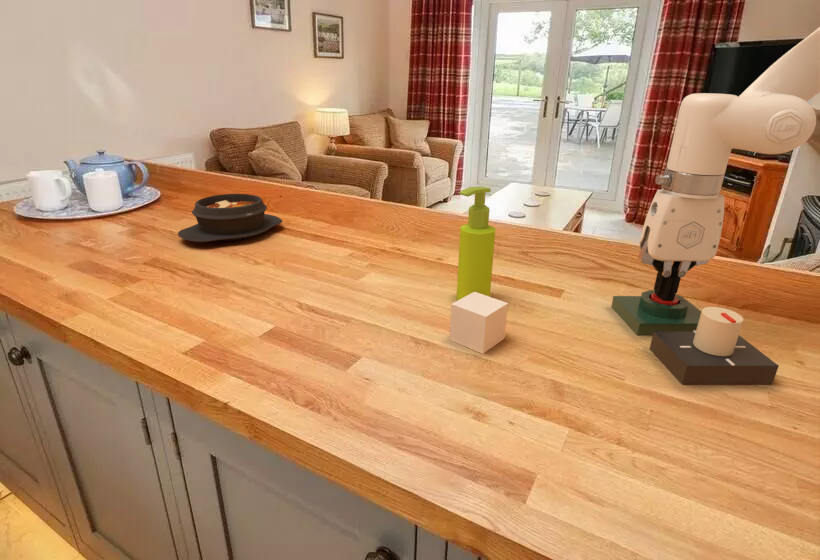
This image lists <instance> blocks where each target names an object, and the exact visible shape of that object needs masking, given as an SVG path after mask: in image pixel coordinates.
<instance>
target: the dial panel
mask: <svg viewBox="0 0 820 560" xmlns="http://www.w3.org/2000/svg"><path fill="white" fill-rule="evenodd" d="M695 333H696V331H693V332H653V336H652V337H651V341H650V345H649V350H650V352H651V353H652V354H653V355H654V356H655V357H656V358H657V360H658V361H660V363H661V364H662V365H663V366H664V367H665V368H666V369H667V370H668V371H669V373H670V374H671V375H672V376H673V377H674V378H675V379H676V380H677V382H678V383H679V384H680V385H682V386H770V385H771V386H772V385H773V383H774V380H775V377H776V376H777V372H778V369H779V364H777V363H776V362H775V361H774V360H773V359H771V358H770V357H768V356H767V355H766V354H764V353H763V352H762V351H760V350H759V349H758V348H756V347H755V346H754V345H753V344H752V343H750V342H748V341H747V340H746V338H743V337H742V336H741V335H740V334H739V336H738V339H737V342H736V345H735V348H734V352H733V354H732V355H730V356H715V355H711V354H708V353H705V352H703V351H701V350H699V349H697V348H696V347H695V346H694V344H693V340H694V337H695Z"/></svg>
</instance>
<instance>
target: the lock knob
mask: <svg viewBox="0 0 820 560" xmlns="http://www.w3.org/2000/svg"><path fill="white" fill-rule="evenodd" d="M700 311H701V315H700V318H699V322H698V326H697V329H696V333H695V337H694V340H693V344H694V346H695V347H696V348H697V349H699V350H701V351H703V352H705V353H708V354H711V355H715V356H730V355H732V354H733V352H734V348H735V345H736V342H737V339H738V336H739V335H740V333H741V329H742V326H743V322H744V317H743V316H742V314H739V313H738V312H736V311H734V310H731V309H728V308H724V307H718V306H706V307H703V308H702V309H701V310H700Z"/></svg>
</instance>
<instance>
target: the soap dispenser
mask: <svg viewBox="0 0 820 560" xmlns="http://www.w3.org/2000/svg"><path fill="white" fill-rule="evenodd" d="M491 191H492V189H491V188H490V187H487V186H470V187H466V188H464V189H462V190H460V191H459V192H458V194H459V195H461V196H465V197H467V198H468V197H471V196H472V195H474V204H472V205H470V206H469V207H468V218H467V223H466V224H462V225H461V226H460V228H459V242H458V243H459V244H458V264H457V280H456V301H458V300H460V299H462V298H464V297H466V296H467V295H469V294H471V293H473V292H477V293H480V294H483V295H486V296H489V297H491V288H492V275H493V265H494V252H495V239H496V228H495V226H492V225H489V222H490V221H489V220H490V207H489V206H487V204H486V193H491Z"/></svg>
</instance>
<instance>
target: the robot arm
mask: <svg viewBox="0 0 820 560" xmlns="http://www.w3.org/2000/svg"><path fill="white" fill-rule="evenodd" d="M819 93H820V26H818V28H816V29H815V30H814V31H813V32H811V33H810V34H809V35H808V36H806V37H805V38H804V39H802V40H801V41H800V42H798V43H797V44H796V45H795V46H793V47H792V48H791V49H789V50H787V52H785V53H784V54H783V55H781V57H779V58H778V59H777V60H776V61H774V62H773V63H772V64H771V65H770V66H768V68H767V69H766V70H764V72H762V73H761V74H760V75H759V76H758V77H757V78H756V79H755V80H754V81H753V82H752V83H751V84H750V85H749V86H748V87H747V88H745V90H744V91H743V92H741V94H739V95H736V94H729V93H715V92H714V93H712V92H709V93H708V92H707V93H706V92H703V93H702V92H697V93H696V92H695V93H690V94H688V95H686V96H685V97H683V99H682V101H681V103H680V105H679V106H680V107H679V109H678V115H677V119H676V123H675V127H674V133H673V136H672V140H671V145H670V151H669V154H668V159H667V164H666V167H665V169H664V171H663V172H664V173H663V174H657V175H656V176H655V180H654V182H655V184H656V185H661V186H660V187H661V189H657V191H656V192H655V194H654V197H653V198H652V201H651V203H650V206H649V208H648V211H647V213H646V217H645V220H644V223H643V227H642V231H641V235H640V240H639V248H640V251H639V254H638V255H637V260H638V261H639V262H640V263H642V264H645V265H649V266H652V267H653V268H654V270H655V272H656V277H655V280H654V281H655V282H654V286H653V290H654V291H655V294H656V295H657V296H658V297H659V298H661V299H662V300H664V301H667V300H670V301H673V300H674V298H675V294H677V293H678V290H679V287H680V283H681V279H683V278H684V277H685V276H686V275H687V272H689V271H690V270H691V269H693V268H694V267H695V266H697V267H698V266H701V265H706V264H708V263H709V262H710V260H712V259H714V258H715V257H716V255H717V253H718V249H719V245H720V241H721V237H722V232H723V226H724V225H723V224H724V217H725V195H724V194H721V189H722V185H723V182H724V178H725V176H726V175H725V174H726V170H727V166H728V163H729V160H730V156H731V153H732V150H733V149H734V150H741V151H747V152H753V153H758V154H764V155H780V154H785V153H789V152H791V151H794V150H795V149H798V148H799V147H801V146H802V145H803V144H805V143H806V142H807V141H808V140H809V139H810V138H811V137H812V135H813V134H814V131H815V129H816V125H817V114H816V111H815V110H814V108H813V106H812V105H811V104H810V103H809V101H810V100H811V99H812V98H814V97H815V96H816V95H818V94H819Z"/></svg>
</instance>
